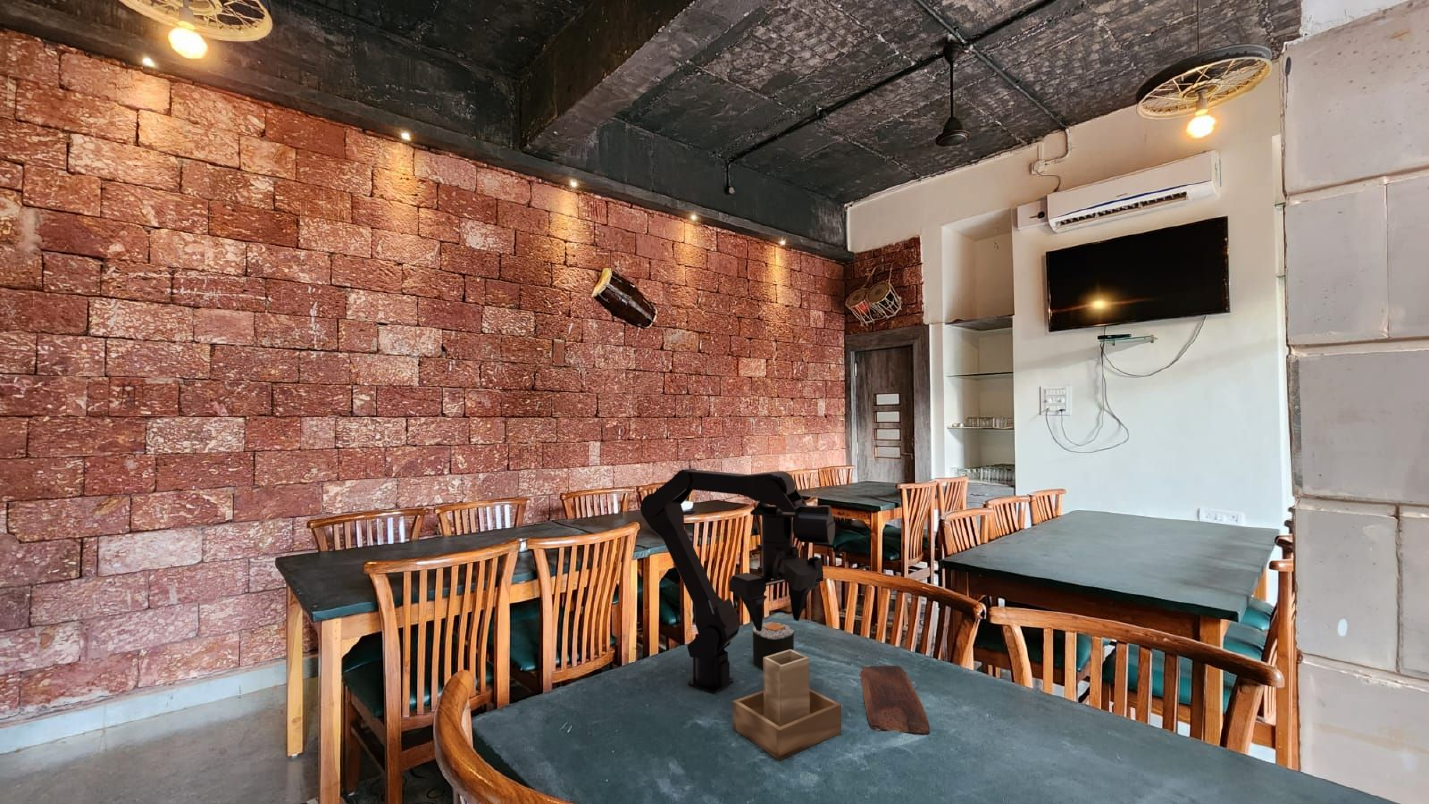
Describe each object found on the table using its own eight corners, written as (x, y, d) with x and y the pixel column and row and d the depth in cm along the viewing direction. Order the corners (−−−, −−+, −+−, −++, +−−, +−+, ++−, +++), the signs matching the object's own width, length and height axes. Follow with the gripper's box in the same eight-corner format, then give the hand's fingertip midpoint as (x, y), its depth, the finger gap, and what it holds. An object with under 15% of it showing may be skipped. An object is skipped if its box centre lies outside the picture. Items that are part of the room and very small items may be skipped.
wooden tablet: (857, 659, 122) (907, 656, 121) (859, 670, 122) (908, 667, 120) (867, 725, 96) (931, 723, 94) (869, 739, 96) (933, 737, 94)
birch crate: (763, 725, 96) (763, 657, 97) (791, 714, 100) (790, 649, 100) (782, 737, 93) (781, 666, 93) (809, 726, 96) (809, 657, 96)
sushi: (771, 653, 128) (771, 616, 129) (801, 664, 122) (801, 626, 122) (745, 663, 123) (745, 625, 123) (775, 676, 117) (775, 635, 117)
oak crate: (733, 728, 97) (732, 701, 97) (792, 705, 105) (792, 679, 105) (779, 761, 88) (779, 730, 88) (841, 732, 95) (841, 704, 96)
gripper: (767, 555, 97) (768, 651, 96) (844, 540, 108) (846, 627, 107) (726, 543, 106) (727, 631, 105) (801, 531, 117) (802, 611, 116)
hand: (778, 625), depth 108 cm, fingers open, 9 cm apart
